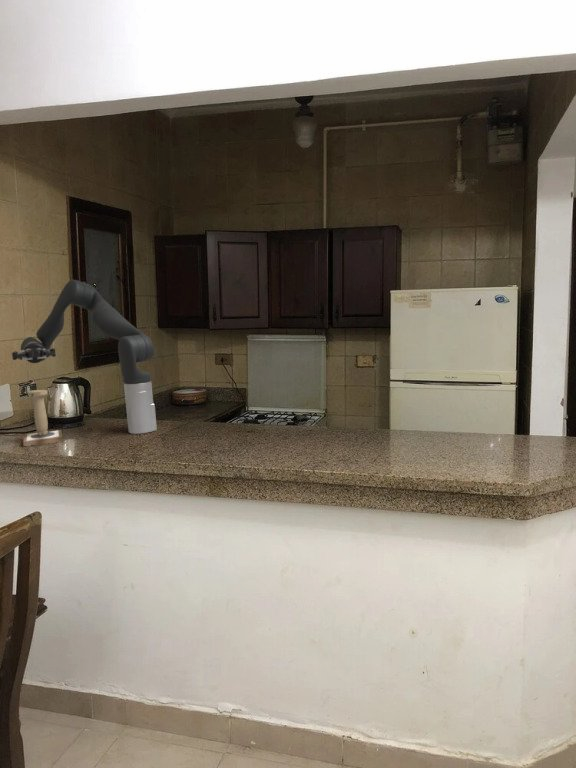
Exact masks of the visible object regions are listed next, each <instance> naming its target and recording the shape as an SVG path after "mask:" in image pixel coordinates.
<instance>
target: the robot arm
mask: <svg viewBox="0 0 576 768" xmlns="http://www.w3.org/2000/svg"><path fill="white" fill-rule="evenodd" d="M70 305H73V306H75V307H79V308H83V309H86V310H87V311H88V312H90V313H91V321H92V322H93V324H94V326H95V327H96V328H97V329H98V330H99V331H100V332H101V333H102V334H104V336H105V335H106V336H107V337H109V338H113V339H114V340H117V341H118V344H117V345H118V346H117V350H118V351H117V352H118V359H119V364H120V371H121V372H120V373H121V376H122V381H123V388H124V390H123V391H124V400H125V408H126V410H125V411H126V418H127V419H126V420H127V428H128V429H127V430H128V433H130V434H136V435H137V434H147V433H151V432H155V431H158V429H157V428H158V427H157V418H156V417H157V416H156V406H155V403H154V399H153V398H154V395H153V385H152V375H151V373H150V372H148V371H143V370H141V369H139V368H138V366H137V363H141V362H142V363H143V362H147V361H149V360H151V359H152V358H153V357H154V356H155V352H156V351H155V346H154V343H153V341H152V339H151V338H150V337H149V336H148V335H147V334H145V333H144V332H142V331H141V330H140V329H138V328H136V327H135V326H134V325H133V324H132V323H131V322H129V320H127V319H126V318H125V317H124V316H123V315H121V313H120V312H119V311H117V310H116V308H114V307H113V306H112V305H111V304H110V303H109V302H107V301H106V300H105V299H104V298H103V297H102V295H100V293H99V292H98V290H97V289H96V288H95V287H94V286H92V285H91V284H90V283H89V284H88V283H85V282H83V281H81V280H77V279H71V280H69V281H67V283H66V284H65V285H64V287H63V288H62V290H61V292H60V294H59V295H58V297H57V299H56V302H55V304H54V305H53V307H52V309H51V311H50V313H49V315H48V317H47V318H46V319H45V321H44V322H43V323H42V324H41V326H39V328H38V330H37V331H36V333H35V334H36V338H37V339H36V338H35V337H32V336H28V337H26V338H24V339H23V341H22V342H21V344H20V351H16V350H15V351H13V352H11V356H12V360H13V361H16V360H20V361H22V360H23V361H26V362H28V363H31V364H39V363H41V362H43V361H45V360H46V359H47V358H50V357H53V358H54V357H56V356H57V354H56V349H55V348H52V345H53V343H54V341H55V340H56V339H57V338H58V336H59V335H60V334H61V332H62V331H63V329H64V325H65V312H66V310H67V309H68V307H69V306H70Z"/></svg>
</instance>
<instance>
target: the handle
mask: <svg viewBox="0 0 576 768" xmlns="http://www.w3.org/2000/svg"><path fill="white" fill-rule="evenodd" d="M47 395H48V390H47V389H33V390H29V391H27V396H29V397H30V398H32V400H33V415H34V417H33V418H34V425H35V429H36V433H37V434H38V435H39V436H42V435H47V434H48V432H49V431H48V427H49V425H48V424H49V423H48V415H47V411H46V405H45V404H46V403H45V397H46V396H47Z"/></svg>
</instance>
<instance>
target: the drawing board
mask: <svg viewBox="0 0 576 768" xmlns="http://www.w3.org/2000/svg"><path fill="white" fill-rule="evenodd" d="M62 441H63V442H64V440H63V434H62V429H59V430H50V431H48V434H47V435H42V436H39V435H38V434H37V432H36V433H35V432H34V433H28V434H23V440H22V443H23V444H22V445H23V447H24V446H27V447H32V446H31V445H34V446H42V445H48V443H49V444H55V443H56V442H57V443H63V442H62ZM41 444H42V445H41Z"/></svg>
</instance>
